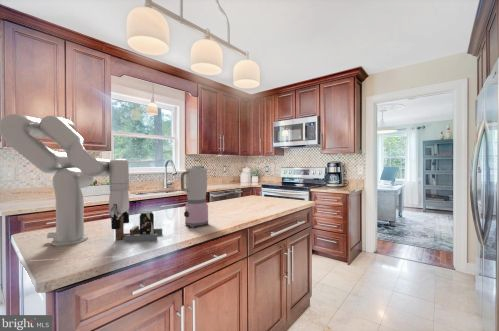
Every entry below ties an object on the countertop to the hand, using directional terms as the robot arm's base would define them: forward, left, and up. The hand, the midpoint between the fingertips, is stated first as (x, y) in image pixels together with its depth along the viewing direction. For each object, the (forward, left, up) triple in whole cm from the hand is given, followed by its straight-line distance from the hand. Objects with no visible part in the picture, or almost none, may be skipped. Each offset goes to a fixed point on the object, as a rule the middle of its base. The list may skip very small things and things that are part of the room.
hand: (120, 226), depth 104 cm
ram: (+2, 0, -6) cm, 6 cm away
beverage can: (+11, 0, -6) cm, 13 cm away
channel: (+10, 0, -6) cm, 12 cm away
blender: (+29, +20, -6) cm, 36 cm away
